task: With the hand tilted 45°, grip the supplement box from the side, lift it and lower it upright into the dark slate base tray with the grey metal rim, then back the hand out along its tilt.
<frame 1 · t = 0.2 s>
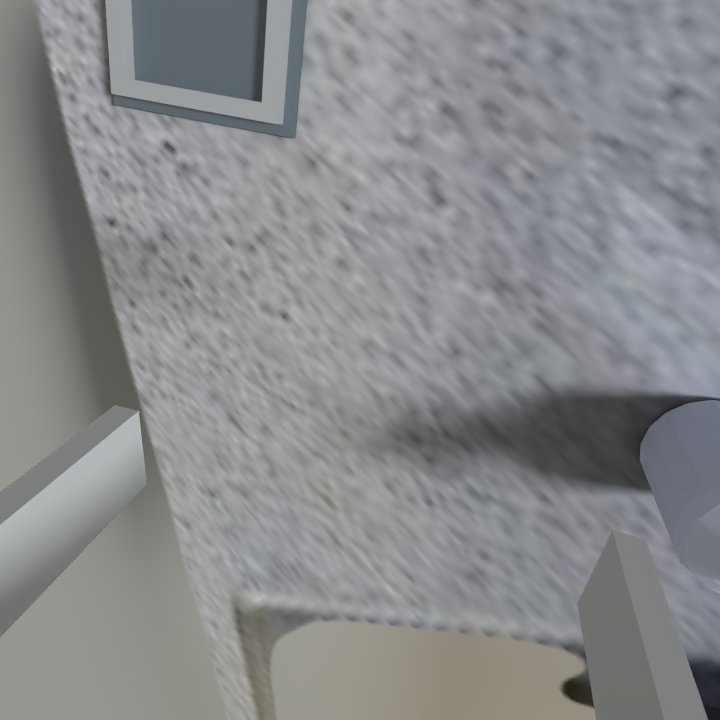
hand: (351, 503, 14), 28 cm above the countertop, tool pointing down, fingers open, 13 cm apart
soap bottle: (702, 447, 39), on the countertop
slate base tray: (205, 3, 35), on the countertop
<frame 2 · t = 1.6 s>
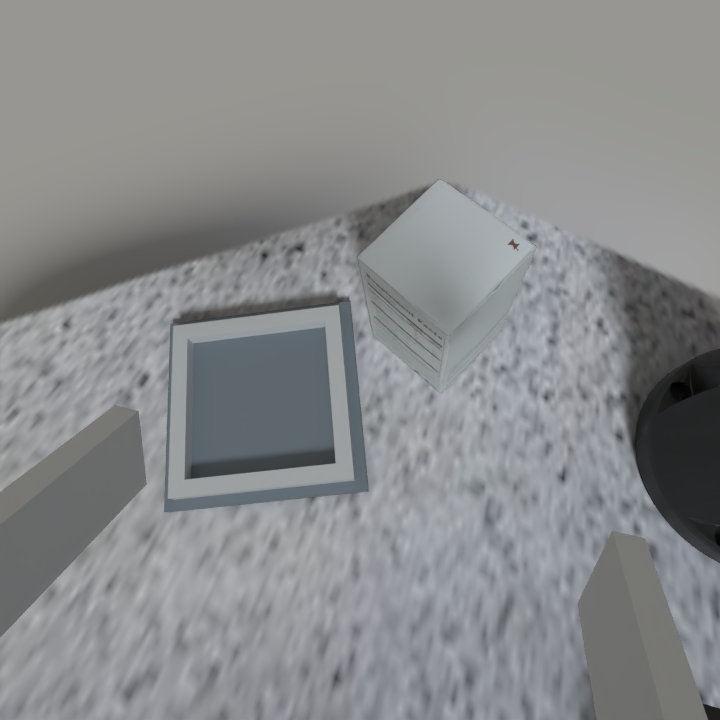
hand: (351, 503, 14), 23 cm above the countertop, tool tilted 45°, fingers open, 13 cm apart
supplement box: (435, 334, 40), on the countertop
slate base tray: (264, 402, 39), on the countertop
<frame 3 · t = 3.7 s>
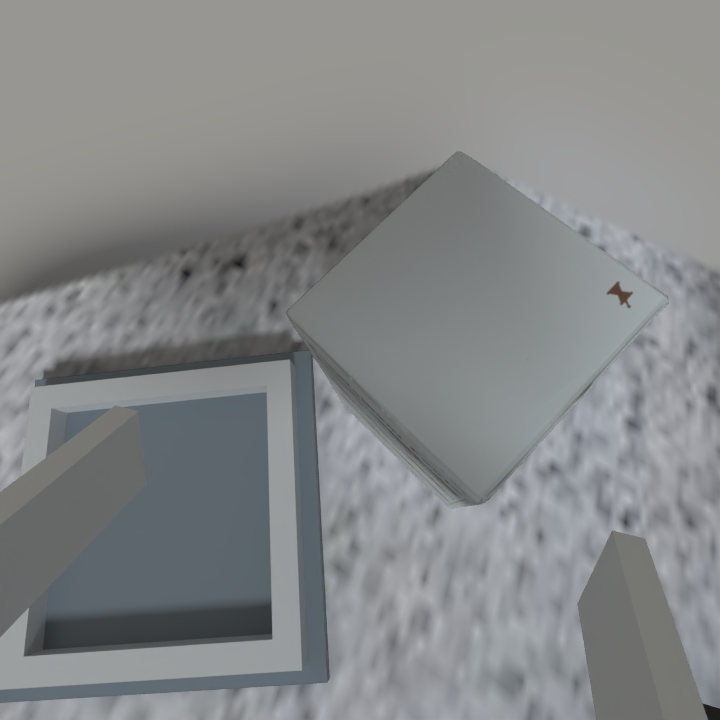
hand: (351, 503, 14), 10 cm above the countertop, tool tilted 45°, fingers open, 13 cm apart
supplement box: (444, 407, 25), on the countertop
slate base tray: (169, 513, 25), on the countertop
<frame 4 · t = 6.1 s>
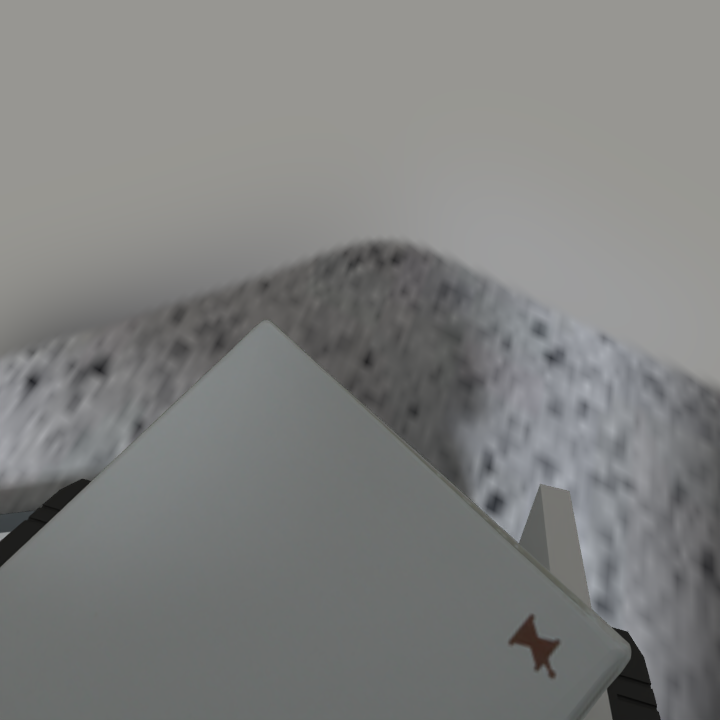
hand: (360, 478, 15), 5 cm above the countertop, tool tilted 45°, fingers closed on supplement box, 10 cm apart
supplement box: (352, 574, 19), on the countertop, touching gripper
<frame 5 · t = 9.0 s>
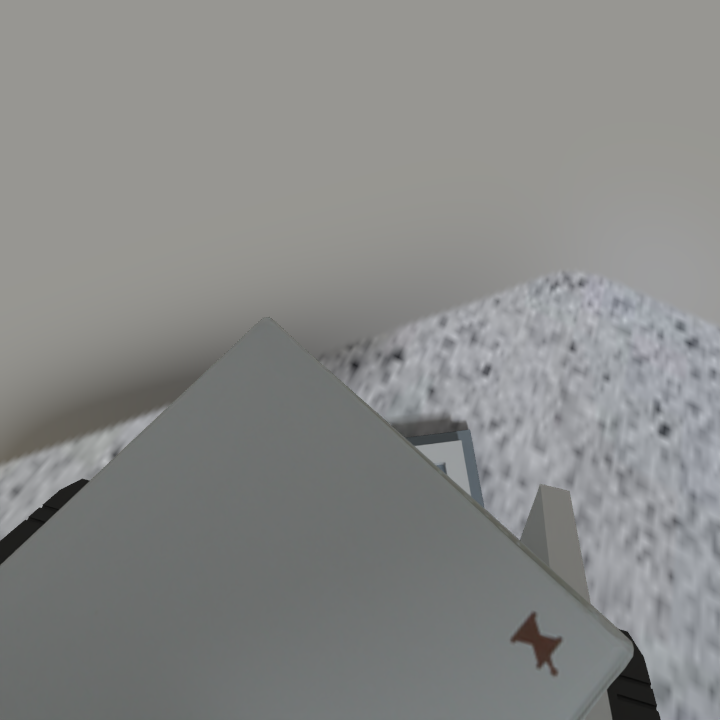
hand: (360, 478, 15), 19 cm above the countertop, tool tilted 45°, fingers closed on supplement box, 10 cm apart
supplement box: (352, 573, 19), point 13 cm above the countertop, touching gripper
slate base tray: (370, 565, 31), on the countertop
when the fingers open (6 cm above the countertop, at t = 12.4 s): supplement box stays where it is, resting on slate base tray.
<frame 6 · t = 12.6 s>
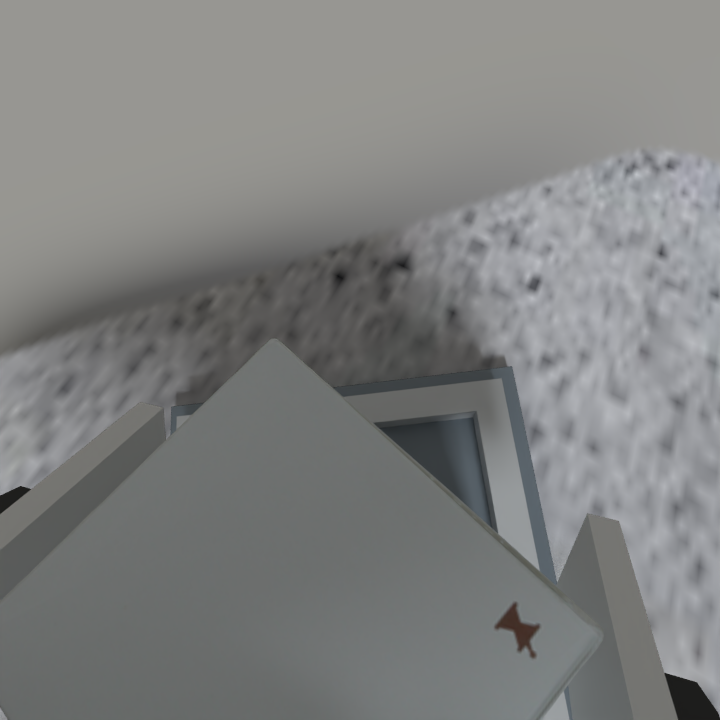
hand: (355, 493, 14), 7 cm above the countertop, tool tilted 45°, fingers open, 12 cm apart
supplement box: (353, 572, 20), resting on slate base tray
slate base tray: (355, 571, 20), on the countertop
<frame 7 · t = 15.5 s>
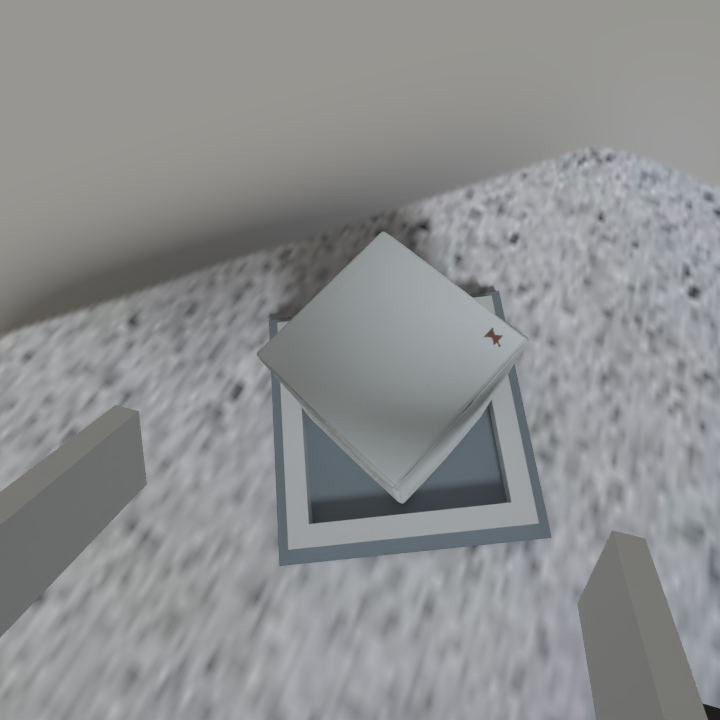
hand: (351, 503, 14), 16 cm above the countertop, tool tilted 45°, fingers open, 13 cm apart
supplement box: (396, 419, 30), resting on slate base tray
slate base tray: (397, 420, 31), on the countertop
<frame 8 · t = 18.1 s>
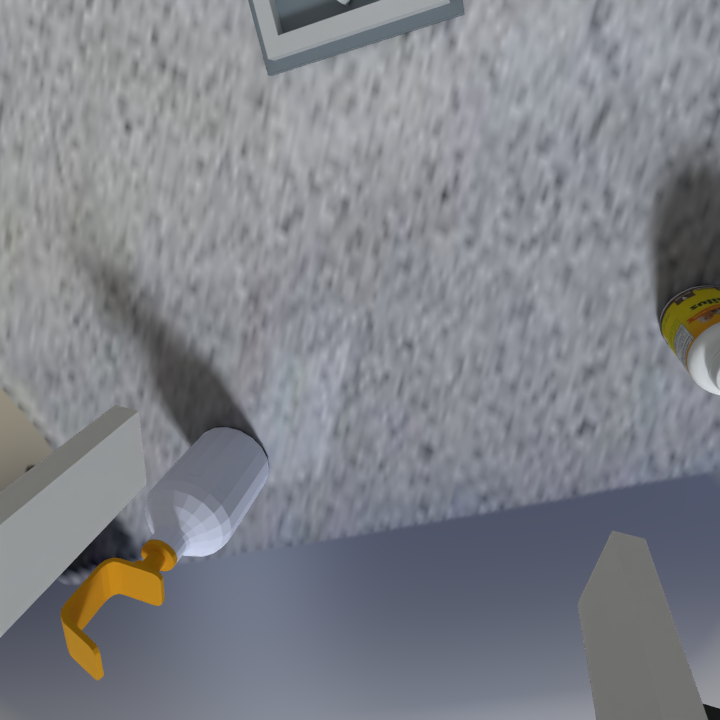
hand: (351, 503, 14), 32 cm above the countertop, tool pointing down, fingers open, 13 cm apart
supplement bottle: (695, 315, 39), on the countertop
soap bottle: (234, 457, 58), on the countertop
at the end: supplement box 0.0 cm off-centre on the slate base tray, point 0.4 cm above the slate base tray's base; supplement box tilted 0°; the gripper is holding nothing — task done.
